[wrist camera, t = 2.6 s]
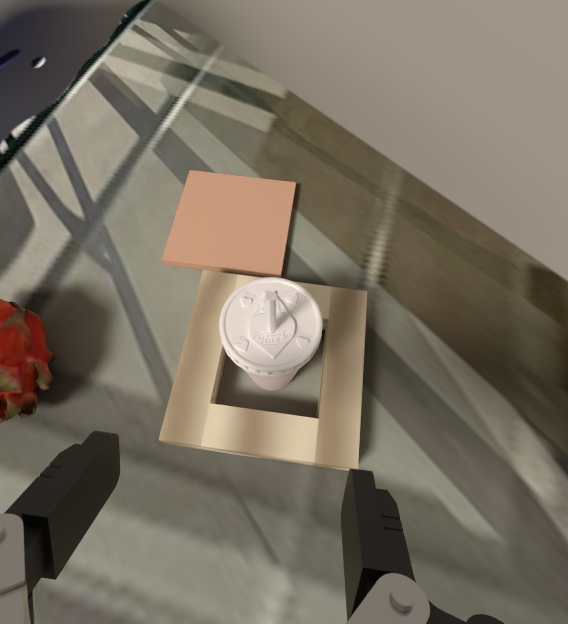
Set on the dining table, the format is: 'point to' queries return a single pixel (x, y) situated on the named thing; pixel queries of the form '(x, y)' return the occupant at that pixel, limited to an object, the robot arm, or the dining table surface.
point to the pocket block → (262, 424)
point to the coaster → (231, 224)
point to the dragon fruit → (22, 360)
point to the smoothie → (271, 330)
